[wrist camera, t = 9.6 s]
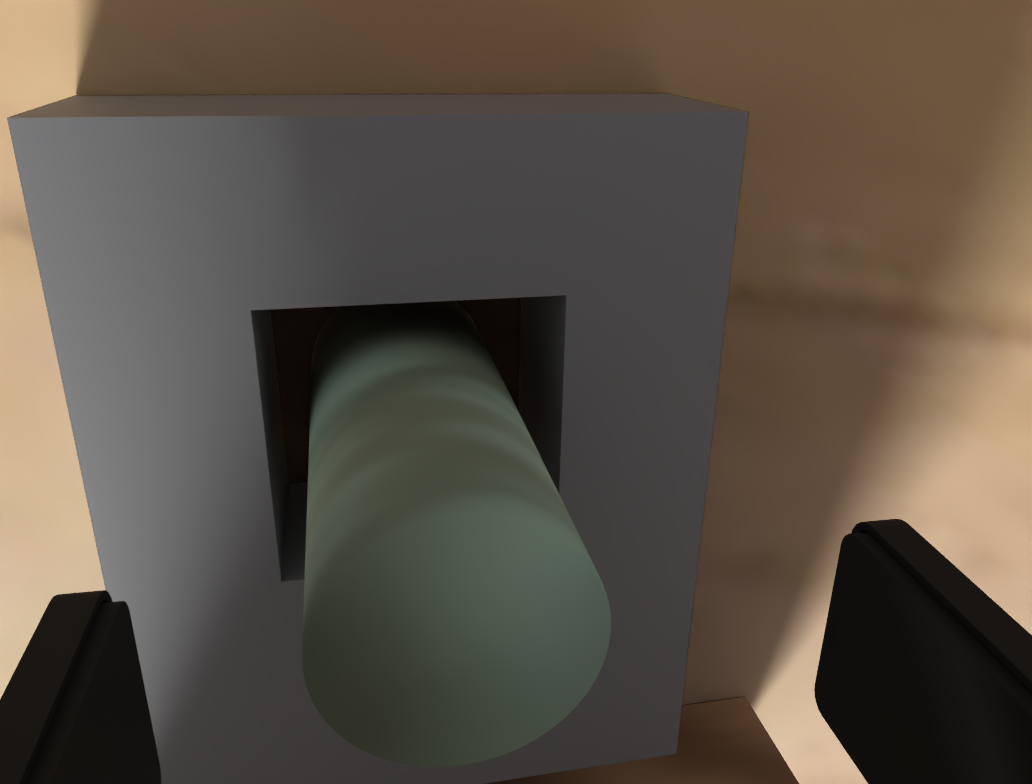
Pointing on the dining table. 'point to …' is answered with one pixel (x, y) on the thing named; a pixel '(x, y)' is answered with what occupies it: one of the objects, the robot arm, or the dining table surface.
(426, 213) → the socket block
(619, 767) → the brown notched wall
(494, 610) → the peg
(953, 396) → the dining table surface
